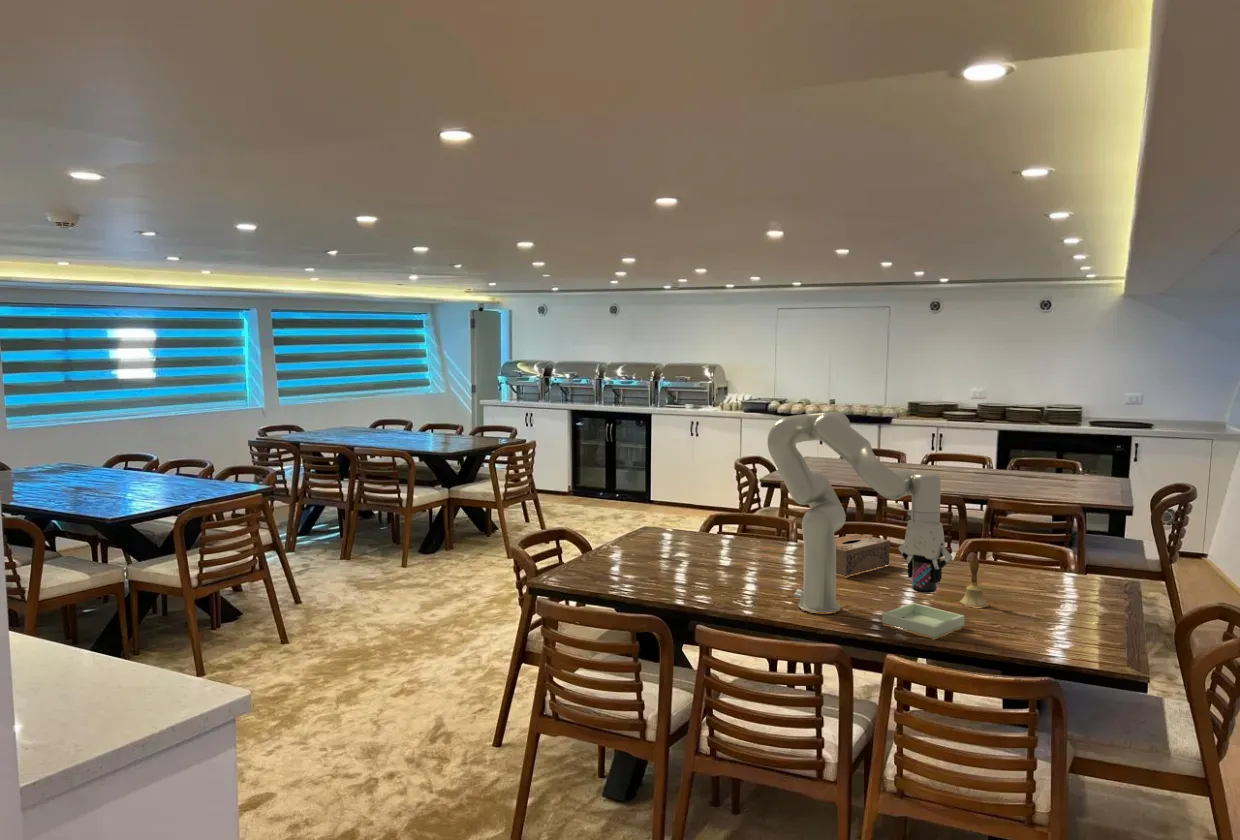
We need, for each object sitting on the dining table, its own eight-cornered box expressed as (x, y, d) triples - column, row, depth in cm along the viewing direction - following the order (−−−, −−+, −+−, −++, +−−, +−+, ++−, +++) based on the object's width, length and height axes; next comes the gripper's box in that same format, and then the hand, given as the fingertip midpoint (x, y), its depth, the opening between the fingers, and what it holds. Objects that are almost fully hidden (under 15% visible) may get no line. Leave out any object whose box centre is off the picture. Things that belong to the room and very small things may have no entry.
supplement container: (906, 587, 233) (907, 551, 232) (928, 586, 234) (929, 550, 233) (918, 594, 226) (919, 557, 225) (941, 593, 227) (942, 556, 226)
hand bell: (971, 609, 246) (973, 558, 245) (953, 602, 254) (954, 551, 253) (994, 607, 248) (996, 556, 247) (975, 599, 256) (977, 549, 255)
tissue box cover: (845, 579, 281) (845, 550, 280) (811, 570, 293) (812, 543, 292) (889, 567, 297) (889, 540, 296) (856, 559, 308) (856, 533, 308)
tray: (882, 625, 232) (882, 613, 232) (912, 614, 242) (912, 602, 242) (934, 640, 220) (934, 627, 219) (964, 627, 230) (964, 615, 229)
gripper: (890, 514, 233) (889, 575, 234) (947, 523, 219) (946, 588, 221) (904, 511, 237) (903, 571, 239) (961, 519, 224) (960, 583, 225)
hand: (924, 578), depth 230 cm, fingers closed on supplement container, 6 cm apart
